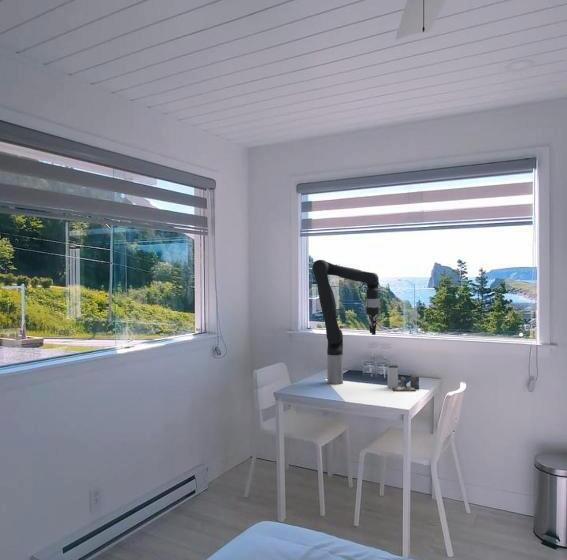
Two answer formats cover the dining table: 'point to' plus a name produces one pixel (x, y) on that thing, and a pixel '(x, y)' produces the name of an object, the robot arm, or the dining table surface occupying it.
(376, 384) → the dining table surface
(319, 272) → the robot arm
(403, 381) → the gauge plunger
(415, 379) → the test stand
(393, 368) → the force gauge
